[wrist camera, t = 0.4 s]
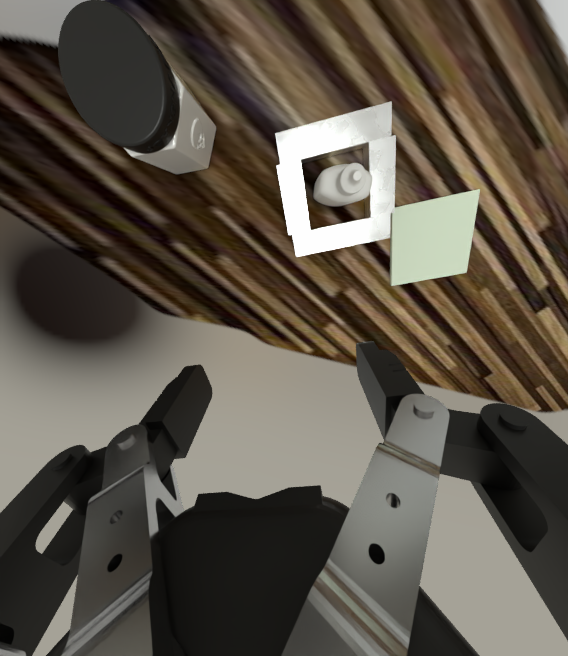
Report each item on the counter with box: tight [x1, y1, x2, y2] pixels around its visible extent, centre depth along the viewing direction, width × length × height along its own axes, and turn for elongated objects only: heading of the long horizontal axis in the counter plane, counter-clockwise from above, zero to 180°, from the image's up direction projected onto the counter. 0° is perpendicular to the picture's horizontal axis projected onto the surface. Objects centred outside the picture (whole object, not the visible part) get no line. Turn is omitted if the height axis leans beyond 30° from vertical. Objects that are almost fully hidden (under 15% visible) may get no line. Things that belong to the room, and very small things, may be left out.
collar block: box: [275, 101, 396, 257], centre depth 29 cm, size 14×14×2 cm
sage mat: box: [390, 189, 480, 286], centre depth 32 cm, size 11×11×1 cm
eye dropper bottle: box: [313, 163, 372, 206], centre depth 24 cm, size 4×6×12 cm
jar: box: [58, 0, 216, 174], centre depth 22 cm, size 9×8×12 cm
